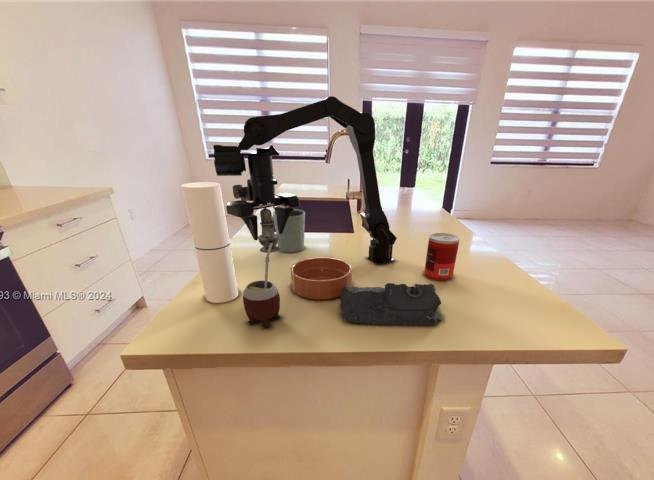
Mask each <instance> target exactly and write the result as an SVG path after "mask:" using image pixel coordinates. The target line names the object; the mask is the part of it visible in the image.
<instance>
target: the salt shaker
mask: <svg viewBox="0 0 654 480" xmlns="http://www.w3.org/2000/svg"><path fill="white" fill-rule="evenodd" d="M259 216H260V222H259V224H260V226H261V234H260V235H258V239H257V241H258V242H259V244H260V245H261V246H262V247H260V249H259V251H260V252H261V253H265V254H267V251H268V249H269V246H270V243H273V245H272V248H271V251H270V254H271V253H272V254H273V253H276V252H279V251H280V250H279V249H280V248H279V247H278V241H279V237H280V236H279V235H277V234H276V232H275V231H274V230H275V229H274V225H275V223H274V220H273V213H272V210H271V209H269V208H262V209H260V211H259Z"/></svg>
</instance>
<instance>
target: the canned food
mask: <svg viewBox="0 0 654 480" xmlns="http://www.w3.org/2000/svg"><path fill="white" fill-rule="evenodd" d="M459 245H460V237H459V236H458V235H455V234H452V233H447V232H446V233H445V232H436V233H431V234H429V237H428V242H427V249H426V256H425V265H424V275H425V276H426V278H428V279H430V280H435V281H448V280H450V279H452V277H453V276H454V272H455V266H456V261H457V255H458V250H459Z"/></svg>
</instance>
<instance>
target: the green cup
mask: <svg viewBox="0 0 654 480" xmlns="http://www.w3.org/2000/svg"><path fill="white" fill-rule="evenodd" d="M272 218H273V222H274V230H275V234H277V235H279V236H280V237H279V241H278V243H277V247H279V248H280V249H279V251H280V252H282V253H298V252H301V251H303V250H304V249H305V232H306V231H305V228H306V227H305V226H306V212H305V211H304V210H303V209H299V208H294V210H293V211H292V212H291V214H290V216H289V218H288V220H287V222H286V225H285V228H284V230H283V233H282V234H279V232H278V226H277V215H276V212H275V210H273V212H272Z"/></svg>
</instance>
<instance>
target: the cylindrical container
mask: <svg viewBox="0 0 654 480" xmlns="http://www.w3.org/2000/svg"><path fill="white" fill-rule="evenodd" d="M180 187H181V192H182V196H183V201H184V205H185V209H186V210H185V211H186V215H187V219H188V224H189V227H190V228H189V229H190V232H191V236H192V241H193V245H194V251H195V254H196V259H197V263H198V269H199V272H200V277H201V282H202V286H203V292H204V296H205V299H206V301H207V302H210V303H212V304H213V303H214V304H221V303H226V302H227V303H228V302H230V301H232V300H234V299H237V297H238V296H239V290H238V289H239V288H238V283H237V278H236V277H237V276H236V270H235V265H234V260H233V253H232V247H231V242H230V241H231V240H230V236H229V229H228V223H227V217H226V211H225V205H224V198H223V192H222V187H221V183H220V182H213V181H197V182H187V183H182V184H181V185H180Z"/></svg>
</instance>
